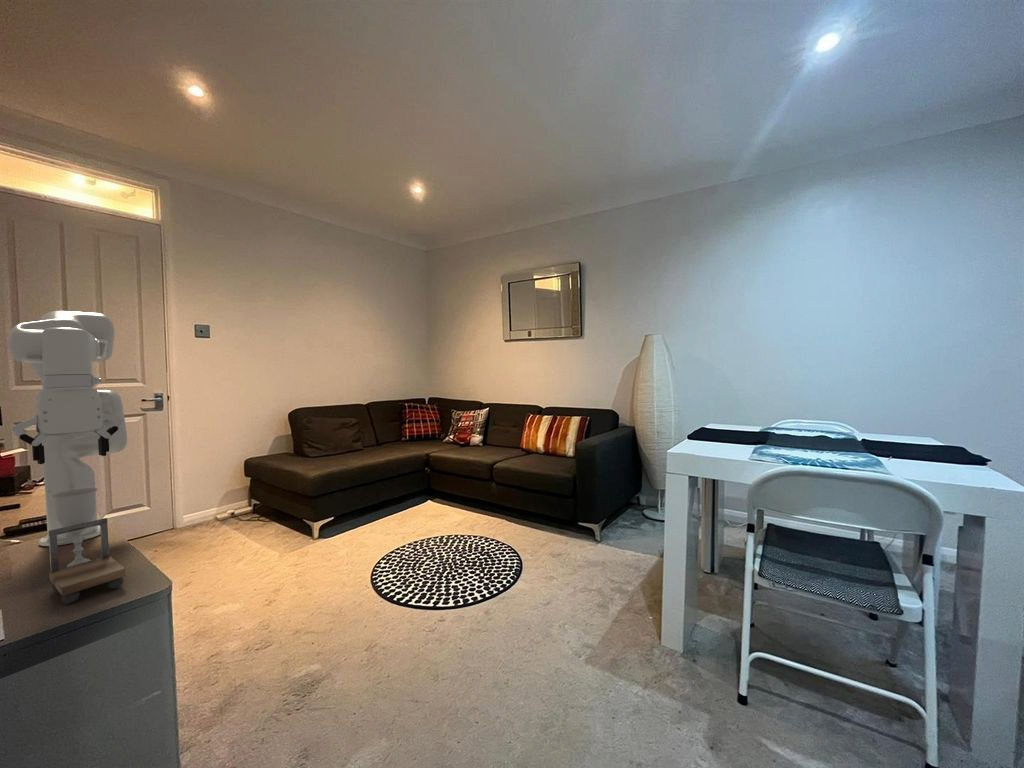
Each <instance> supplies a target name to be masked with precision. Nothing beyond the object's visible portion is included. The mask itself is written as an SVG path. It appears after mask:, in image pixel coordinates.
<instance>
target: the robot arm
mask: <svg viewBox="0 0 1024 768" xmlns="http://www.w3.org/2000/svg"><path fill="white" fill-rule="evenodd" d="M114 327H115V326H114V324H113V321H112V320H111V319H110V317H108V316H107V315H106V314H103V313H99V312H85V311H84V312H83V311H70V310H54V311H50V312H47V313H45V314H43V315H42V316H41V317H40V318H39V320H37V321H28V322H21V323H18V324H16V325H14V327H12V329H11V331H10V333H9V337H8V351H9V353H10V354H11V356H12V358H13V359H14V360H15V361H17V362H20V363H25V364H26V363H27V364H28V363H29V364H30V366H31V367H32V369H33V371H34V372H35V374H36V375H37V376H38V377H39V380H40V382H41V386H42V387H41V388H42V389H41V390H38V392H37V397H36V401H35V402H36V404H35V405H36V406H35V417H31V418H29V419H27V420H24V421H22V422H20V423H17V424H14V425H13V426H11V428H10V430H11V431H12V432H13V433H14V435H15V436H16V437H17V438H18V439H20V440H21V441H23V442H25V443H27V444H29V445H30V446H31V447H32V449H31V451H32V460H33V461H34V462H37V464H38V465H42V470H43V471H42V472H43V480H44V483H43V484H44V496H45V497H44V498H45V512H46V513H45V515H46V529H47V532H46V533H47V535H45V536H43V537H41V538H40V539H39V540H38V544H39V546H41V547H49V534H48V531H50V530H54V529H59V528H63V527H62V526H61V524H60V523H59V521H58V519H57V518H56V508H55V500H54V498H53V497H52V495H53V494H56V493H60V492H65V491H70V490H76V489H85V488H96V476H95V470H94V469H93V467H91V465H89V464H88V463H86V462H84V461H83V460H81V458H86V457H90V456H91V457H92V456H101V457H106V456H107V455H109V454H110V455H111V454H116V453H119V452H121V451H123V450H124V449H126V446H127V444H128V434H127V427H126V420H125V412H124V405H123V402H122V398H121V396H120V395H119V393H118V392H117V391H115V390H112V389H111V390H110V389H97V388H94V386H95V385H98V384H102V378H101V377H96V376H94V375H93V365H92V363H94V362H95V363H96V362H97V363H98V362H106V361H108V360H110V359H111V357H112V355H113V352H114V351H113V349H114V348H113V347H114V341H115V328H114ZM34 425H35V429H36V432H37V434H36V435H35V436H34V437H32V436H30V435H29V434H27V433H26V432H25V429H27V428H29V427H32V426H34ZM96 494H97V492H96V493H95V509H96V510H95V513H94V516H93V518H92V520H91V521H95V520H98V514H97V495H96ZM80 536H81V539H82V540H83V541H85V540H89V539H93V538H95V537H98V536H101V534H100V525H98V526H93V527H89V528H87V529H86V530H85V531H83V532H81V535H80ZM74 538H75V537H74V534H70V533H68V532H67V533H63V534H58V535H57V546H63V545H68V544H73V541H74Z"/></svg>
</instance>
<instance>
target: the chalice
mask: <svg viewBox="0 0 1024 768" xmlns="http://www.w3.org/2000/svg"><path fill="white" fill-rule="evenodd" d="M97 491H98V488H97V487H95V488H85V489H76V490H70V491H65V492H60V493H56V494H53V495H52V497H53V498H54V500H55V508H56V518H57V519H58V521H59V523H60V524H61V526H62V527H68V526H72V525H77V524H81V523H86V522H90V521H91V520H92V518H93V516H94V513H95V510H96V509H95V493H96V494H97ZM86 529H87V528H85V529H80V530H76V531H72V532H68V533H70V534H74V537H75V538H74V541H73V543H72V544H73V545H74V549H72V552H73V553H74V554H75V556H74V557H75V558H73V560H72V561H71V562H69V563H68V564H67V565H66V567H70V566H73V565H77V564H80V563H84V562H88V561H91V559H89V558H88V557H86V558H85V557H84V556H83V555H82V553H83V550H84V549H85V548H84V547H83V546H82V543H83V541H84V540H82V539H81V536H80V535H81V532H83V531H85V530H86Z"/></svg>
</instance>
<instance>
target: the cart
mask: <svg viewBox="0 0 1024 768" xmlns="http://www.w3.org/2000/svg"><path fill="white" fill-rule="evenodd" d="M98 525H100V547H101V549H100V551H101V557H100V558H95V559H92V560H91V559H90V560H91V561H88V562H84V563H80V564H77V565H73V566H70V567H67V566H66V567H63V568H60V567H59V552H58V551H59V549H58V545H57V535H58V534H63V533H67V532H72V531H76V530H80V529H85V528H89V527H93V526H98ZM108 525H109V524H108V518H107V517H104V518H100V519H97V520H95V521H90V522H86V523H81V524H77V525H72V526H68V527H63V528H59V529H54V530H50V531H48V532H47V535H48V534H49V546H48V548H49V562H50V563H49V564H50V571H49V572H48V573H49V575H48V576H49V580H50V582H51V583H52V585H51V586H52V587H51V588H52V590H53V591H55V592H58V593H59V594H60V595H61V602H62V603H64V604H65V605H69V604H73V603H75V602H76V601H78V600H79V597H80V595H81V594H80V591H83V590H86V589H89V588H93V587H95V586H98V585H101V584H105V583H107V587H108V588H109V589H111V590H116V589H118V588H120V587H121V586H122V585H123V583H124V579H123V578H124V577H126V568H125V567H124V566H123V565H122V564H120V563H119V562H118V561H117V560H115V559H114V558H113V557H112V556H111V555H110V548H109V529H108Z"/></svg>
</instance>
